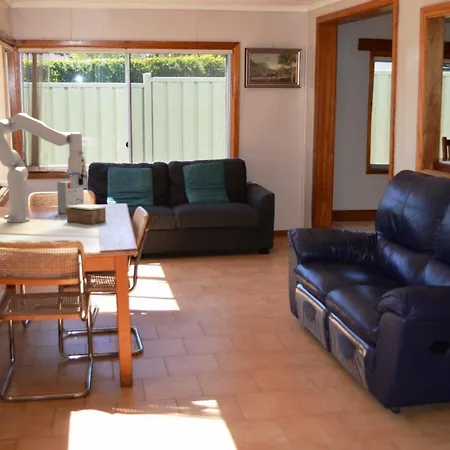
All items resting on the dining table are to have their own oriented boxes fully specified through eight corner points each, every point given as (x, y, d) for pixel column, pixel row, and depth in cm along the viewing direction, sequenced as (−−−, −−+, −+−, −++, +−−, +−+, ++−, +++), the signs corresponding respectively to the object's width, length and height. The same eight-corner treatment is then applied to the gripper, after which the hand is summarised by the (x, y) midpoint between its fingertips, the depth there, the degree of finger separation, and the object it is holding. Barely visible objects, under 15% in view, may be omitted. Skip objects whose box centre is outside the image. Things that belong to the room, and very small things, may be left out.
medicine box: (80, 186, 427) (79, 172, 425) (85, 187, 424) (84, 172, 423) (69, 188, 421) (69, 173, 419) (74, 188, 418) (74, 173, 417)
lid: (90, 210, 411) (90, 208, 411) (66, 207, 420) (66, 205, 420) (105, 208, 423) (105, 206, 422) (81, 205, 432) (81, 204, 432)
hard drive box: (65, 214, 448) (64, 182, 444) (57, 213, 452) (56, 181, 449) (84, 211, 460) (83, 180, 456) (76, 210, 465) (75, 179, 461)
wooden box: (91, 225, 413) (90, 211, 412) (67, 221, 422) (66, 208, 421) (105, 221, 424) (105, 208, 423) (82, 218, 433) (81, 205, 432)
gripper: (91, 153, 418) (92, 184, 421) (69, 152, 426) (70, 183, 429) (83, 154, 412) (84, 186, 415) (60, 153, 420) (61, 184, 423)
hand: (77, 184), depth 422 cm, fingers closed on medicine box, 5 cm apart
